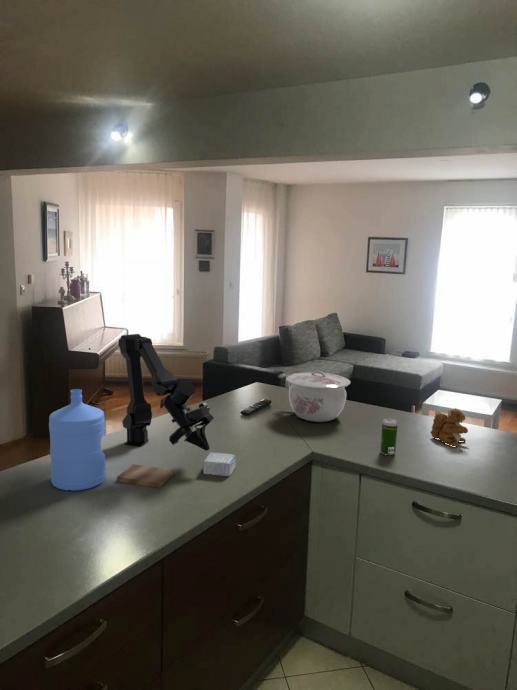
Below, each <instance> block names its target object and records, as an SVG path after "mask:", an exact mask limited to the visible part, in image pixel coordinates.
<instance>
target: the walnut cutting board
mask: <svg viewBox="0 0 517 690" xmlns="http://www.w3.org/2000/svg"><path fill="white" fill-rule="evenodd" d="M174 471H175V470H174V469H170V468H163V467H162V468H161V467H157V466H156V467H155V466H149V465H141V464H135V463H134V464H132V465H130V466H129V467H128V468H126V469H125V470H124V471H122V472H121V473H120V474H119V475H116V481H117V482H119V483H126V484H133V485H138V486H144V487H150V488H151V487H152V488H157V489H160V488H161V487H162V486H163V485H164V484H165V483H166V482H168V481H169V480H170V479H171V478H172V477H173V476H174V474H175V472H174Z"/></svg>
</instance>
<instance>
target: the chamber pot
mask: <svg viewBox="0 0 517 690" xmlns="http://www.w3.org/2000/svg"><path fill="white" fill-rule="evenodd" d="M285 381H286V382H287V384H288V401H289V405H290V407H291V409H292V411H293V412H294V414H295V415H296V416H297V417H298V418H300V419H302V420H304V421H308V422H311V423H312V422H313V423H325V422H331V421H333V420H335V419H336V418H338V416H339V415H340V413H342V411H343V410H344V408H345V405H346V401H347V391H346V389H345V388H346V387H348V386H349V385H351V380H350V379H348V378H347V377H345V376H342V375H338V374H334V373H330V372H323V371H321V370H313V371H305V372H296V373H295V372H294V373H292V374H290V375H288V376H287V377H286V378H285Z"/></svg>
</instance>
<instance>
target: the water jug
mask: <svg viewBox="0 0 517 690" xmlns="http://www.w3.org/2000/svg"><path fill="white" fill-rule="evenodd" d="M82 393H83V390H82V389H80V388H74V389H70V401H71V402H70V404H68V405H66V406H64V407H61V408H60V409H57V410H55V411H53V412H52V413H50V415H49V417H48V419H49V422H48V429H49V440H50V441H49V443H50V444H49V445H50V446H49V447H50V448H49V453H50V455H49V456H50V463H51V465H50V466H51V468H50V469H51V476H50V479H51V480H50V481H51V484H52V486H53V487H55V488H57V489H59V490H62V491H68V490H71V491H72V492H73V491H74V492H75V491H82V490H83V491H84V490H88V489H91V488H94V487H97V486H98V485H100V484H102V483H103V482H104V481H105V480H106V477H107V469H106V455H105V453H104V452H103V451H102V438H103V437H104V436H105V434H106V433H105V432H106V431H105V430H106V429H105V426H106V419H105V412H104V411H103V410H102V409H101V408H99V407H95V406H92V405H89V404H86V403H84V402H83V395H82ZM71 491H70V492H71Z"/></svg>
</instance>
